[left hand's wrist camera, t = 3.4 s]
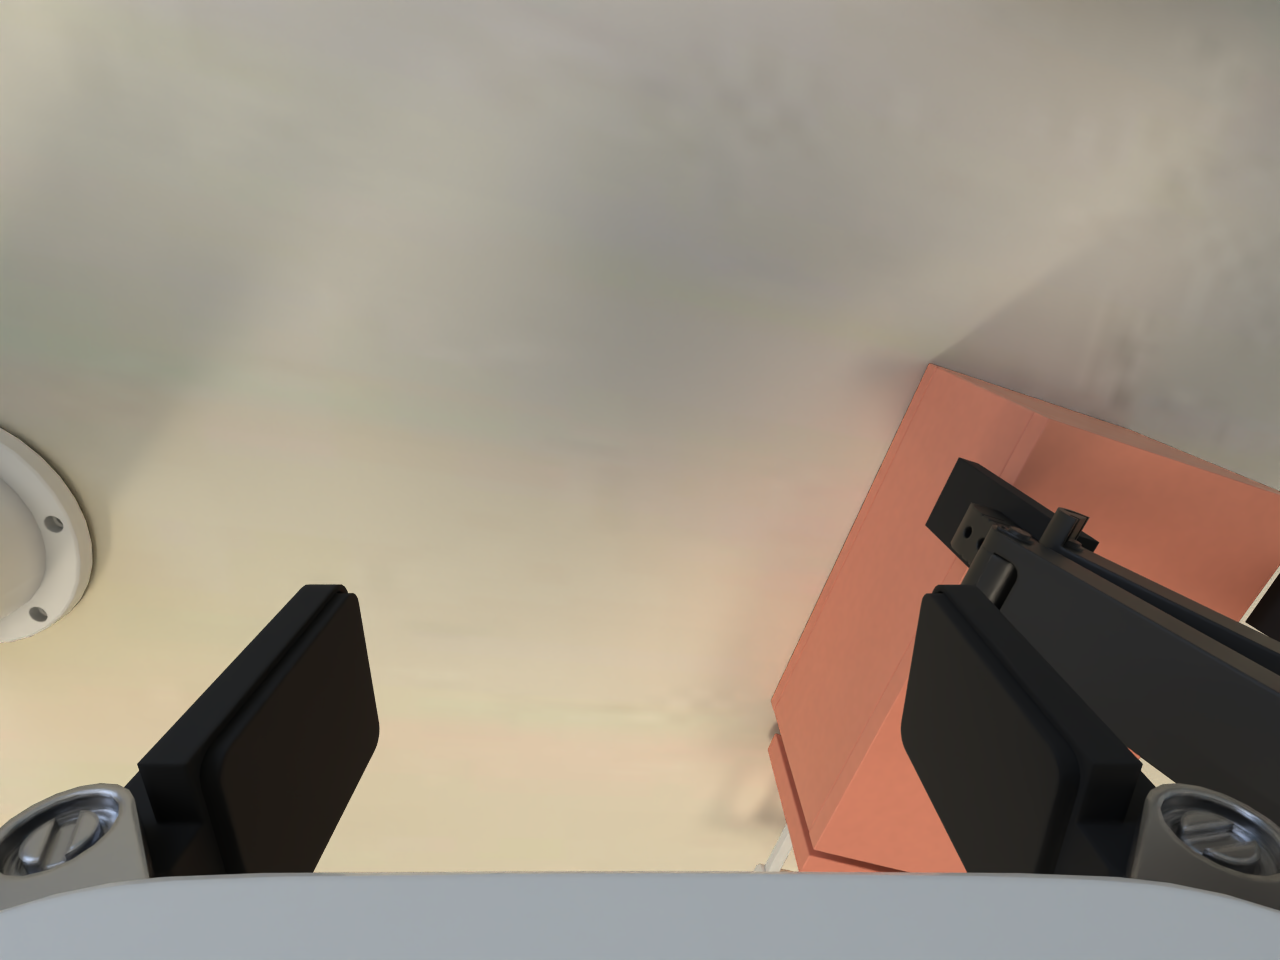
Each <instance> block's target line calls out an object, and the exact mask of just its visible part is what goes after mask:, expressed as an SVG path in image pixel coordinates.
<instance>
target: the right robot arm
mask: <svg viewBox="0 0 1280 960" xmlns="http://www.w3.org/2000/svg"><path fill="white" fill-rule="evenodd" d="M1089 518H1090V517H1088V516H1085V515H1083V514H1080V513H1078V512H1075V511H1072V510H1069V509H1066V508H1062V507H1058V508H1057V510H1056V512H1055V513H1054V512H1052V511H1051V510H1049V509H1048V508H1046V507H1045V506H1043V505H1041V504H1040V503H1038V502H1037V501H1035V500H1034V499H1032V498H1031V497H1029V496H1028V495H1026V494H1025V493H1023V492H1021V491H1020V490H1018V489H1017V488H1015V487H1014V486H1012V485H1011V484H1009V483H1008V482H1006V481H1005V480H1003V479H1002V478H1000V477H998V476H997V475H995V474H994V473H992V472H991V471H989V470H988V469H986V468H985V467H983V466H982V465H980V464H978V463H976V462H973V461H969V460H966V459H963V458H960V457H959V458H958V460H957V462H956V464H955V466H954V468H953V470H952V472H951V474H950V476H949V478H948V480H947V482H946V484H945V486H944V488H943V490H942V492H941V494H940V496H939V498H938V500H937V502H936V504H935V506H934V508H933V510H932V512H931V514H930V516H929V518H928V520H927V522H926V524H925V526H926V527H927V528H928V529H929V530H930V531H931V532H932V533H933V534H934V535H935V536H937V537H938V538H939V539H940V540H941V541H942V542H943V543H944V544H945V545H946V546H947V547H948V548H949V549H950V550H951V551H952V552H953V553H954V554H955V555H956V556H957V557H958V558H959V559H960V560H961V561H962V562H963V563H964V564H965V565H966V566H967V567H968V568H969V569H968V571H967V573H966V575H965V577H964V579H963V580H962V582H961V584H960V585H975V586H977V587H978V588H979V589H980V590H981V591H982V592H983V593H984V594H985V596H986V597H987V598H988V599H989V600H990V601H991V602H992V603H993V604H994V605H995V606H996V607H997V608H998V609H999V611H1000V612H1001V613H1002V614H1003V615H1004V616H1005V617H1006V618H1007V619H1008V620H1009V621H1010V622H1011V623H1012V624H1013V626H1014V627H1015V628H1016V629H1017V630H1018V631H1019V632H1020V633H1021V634H1022V635H1023V636H1024V637H1025V638H1026V639H1027V641H1028V642H1029V643H1030V644H1031V645H1032V646H1033V647H1034V648H1035V649H1036V650H1037V651H1038V652H1039V653H1040V654H1041V656H1042V657H1043V658H1044V659H1045V660H1046V661H1047V662H1048V663H1049V664H1050V665H1051V666H1052V667H1053V668H1054V669H1055V671H1056V672H1057V673H1058V674H1059V675H1060V676H1061V677H1062V678H1063V679H1064V680H1065V681H1066V682H1067V683H1068V684H1069V686H1070V687H1071V688H1072V689H1073V690H1074V691H1075V692H1076V693H1077V694H1078V695H1079V696H1080V697H1081V698H1082V699H1083V700H1084V702H1085V703H1086V704H1087V705H1088V706H1089V707H1090V708H1091V709H1092V710H1093V711H1094V712H1095V713H1096V714H1097V715H1098V717H1099V718H1100V719H1101V720H1102V721H1103V722H1104V723H1105V724H1106V725H1107V726H1108V727H1109V728H1110V729H1111V730H1112V732H1113V733H1114V734H1115V735H1116V736H1117V737H1118V738H1119V739H1120V740H1121V741H1122V742H1123V743H1124V744H1125V745H1126V747H1128V748H1129V749H1130V750H1132V751H1133V752H1134V753H1136V754H1137V755H1139V756H1140V757H1141V758H1143V759H1144V760H1145V761H1147V762H1148V763H1149V764H1151V765H1152V766H1153V767H1155V768H1156V769H1158V770H1159V771H1160V772H1162V773H1163V774H1164V775H1166V776H1167V777H1168V778H1170V779H1171V780H1173V781H1174V782H1175V783H1181V784H1188V785H1195V786H1201V787H1204V788H1207V789H1210V790H1213V791H1216V792H1219V793H1223V794H1225V795H1227V796H1229V797H1231V798H1233V799H1236V800H1238V801H1240V802H1242V803H1244V804H1246V805H1248V806H1250V807H1251V808H1253V809H1254V810H1256V811H1258V812H1259V813H1261V814H1262V815H1264V816H1265V817H1267V818H1269V819H1270V820H1271V821H1272V822H1274V823H1275V824H1276V825H1277V826H1278V827H1279V828H1280V573H1279V575H1278V576H1277V578H1276V579H1275V581H1274V582H1273V583H1272V585H1271V586H1270V588H1269V589H1268V590H1267V592H1266V593H1265V595H1264V596H1263V597H1262V599H1261V600H1260V602H1259V603H1258V605H1257V606H1256V607H1255V609H1254V610H1253V612H1252V613H1251V614H1250V616H1249V617H1248V619H1247V620H1246V623H1248V624H1249V625H1251V626H1252V627H1254V628H1256V629H1257V630H1259V631H1260V632H1262V633H1264V634H1265V635H1264V634H1262V633H1260V632H1258V631H1256V630H1254V629H1251V628H1249V627H1247V626H1245V625H1243V624H1241V623H1239V622H1237V621H1235V620H1233V619H1231V618H1229V617H1226V616H1224V615H1222V614H1220V613H1218V612H1216V611H1214V610H1212V609H1210V608H1208V607H1206V606H1204V605H1202V604H1199V603H1197V602H1195V601H1193V600H1191V599H1189V598H1187V597H1185V596H1183V595H1181V594H1179V593H1177V592H1175V591H1172V590H1170V589H1168V588H1166V587H1164V586H1162V585H1160V584H1158V583H1156V582H1154V581H1152V580H1150V579H1148V578H1145V577H1143V576H1141V575H1139V574H1137V573H1135V572H1133V571H1131V570H1129V569H1127V568H1125V567H1123V566H1120V565H1118V564H1116V563H1114V562H1112V561H1110V560H1108V559H1106V558H1104V557H1102V556H1100V555H1098V554H1096V553H1093V552H1094V551H1095V549H1096V547H1097V546H1098V544H1099V542H1098V541H1097V540H1095V539H1094V538H1092V537H1091V536H1089V535H1088V534H1086V533H1084V532H1083V531H1082V530H1083V528H1084V526H1085V525H1086V523H1087V521H1088V520H1089ZM1266 635H1267V636H1266Z"/></svg>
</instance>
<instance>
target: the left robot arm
mask: <svg viewBox="0 0 1280 960" xmlns="http://www.w3.org/2000/svg"><path fill="white" fill-rule="evenodd" d="M92 564H93V561H92V542H91V538H90V534H89V531H88V527H87V523H86V520H85V518H84V516H83V514H82V511H81V509H80V507H79V505H78V503H77V501H76V499H75V497H74V496H73V494H72V493H71V492H70V490H69V489H68V487H67V486H66V484H65V483H64V481H63V480H62V479H61V477H60V476H59V475H58V474H57V473H56V472H55V471H54V470H53V469H52V468H51V467H50V465H49V464H48V463H47V462H46V461H45V460H44V459H43V458H42V457H41V456H40V455H38V454H37V453H36V452H35V451H33V450H32V449H31V448H30V447H28V446H27V445H26V444H25V443H23V442H22V441H21V440H20V439H18V438H17V437H15V436H13V435H12V434H10V433H8V432H6V431H5V430H3V429H1V428H0V643H7V642H14V641H17V640H21V639H24V638H28V637H31V636H33V635H35V634H37V633H39V632H41V631H43V630H45V629H47V628H48V627H50V626H51V625H53V624H54V623H55V622H57V621H58V620H60V619H61V618H62V617H64V616H65V615H67V614H68V613H69V612H70V611H71V610H72V609H73V607H74V606H75V605H76V604H77V603H78V602H79V601H80V599H81V598H82V596H83V593H84V591H85V589H86V587H87V585H88V583H89V579H90V574H91V569H92ZM378 738H379V720H378V714H377V708H376V702H375V696H374V690H373V684H372V678H371V673H370V667H369V661H368V655H367V649H366V643H365V637H364V631H363V625H362V619H361V613H360V607H359V602H358V598H357V596H356V595H355V594H354V593H348V591H347V590H346V588H345V586H343V585H305V586H303V587H302V588H301V589H300V590H299V591H298V592H297V593H296V594H295V596H294V597H293V598H292V599H291V600H290V601H289V602H288V603H287V604H286V605H285V606H284V607H283V608H282V609H281V611H280V612H279V613H278V614H277V615H276V616H275V617H274V618H273V619H272V620H271V621H270V622H269V623H268V624H267V626H266V627H265V628H264V629H263V630H262V631H261V632H260V633H259V634H258V635H257V636H256V637H255V638H254V639H253V641H252V642H251V643H250V644H249V645H248V646H247V647H246V648H245V649H244V650H243V651H242V652H241V653H240V654H239V656H238V657H237V658H236V659H235V660H234V661H233V662H232V663H231V664H230V665H229V666H228V667H227V668H226V669H225V671H224V672H223V673H222V674H221V675H220V676H219V677H218V678H217V679H216V680H215V681H214V682H213V683H212V684H211V686H210V687H209V688H208V689H207V690H206V691H205V692H204V693H203V694H202V695H201V696H200V697H199V698H198V699H197V700H196V702H195V703H194V704H193V705H192V706H191V707H190V708H189V709H188V710H187V711H186V712H185V713H184V714H183V715H182V717H181V718H180V719H179V720H178V721H177V722H176V723H175V724H174V725H173V726H172V727H171V728H170V729H169V730H168V732H167V733H166V734H165V735H164V736H163V737H162V738H161V739H160V740H159V741H158V742H157V743H156V744H155V745H154V747H153V748H152V749H151V750H150V751H149V752H148V753H147V754H146V755H145V756H144V757H143V758H142V759H141V760H140V762H139V763H138V764H137V765H138V768H139V772H138V773H137V774H136V775H135V776H134V777H133V778H132V779H131V780H130V781H129V783H128V784H127V785H126V786H125V787H122V786H120V785H118V784H105V783H99V784H92V785H85V786H79V787H76V788H73V789H70V790H67V791H64V792H61V793H57V794H55V795H53V796H51V797H49V798H46V799H44V800H42V801H40V802H38V803H36V804H34V805H32V806H30V807H29V808H27V809H26V810H24V811H22V812H21V813H19V814H18V815H16V816H15V817H13V818H11V819H10V820H9V821H8V822H6V823H5V824H4V825H3V826H2V827H1V828H0V960H1280V828H1279V827H1278V826H1277V825H1276V824H1275V823H1274V822H1272V821H1271V820H1270V819H1269V818H1267V817H1265V816H1264V815H1262V814H1261V813H1259V812H1258V811H1256V810H1254V809H1253V808H1251V807H1250V806H1248V805H1246V804H1244V803H1242V802H1240V801H1238V800H1236V799H1233V798H1231V797H1229V796H1227V795H1225V794H1223V793H1219V792H1216V791H1213V790H1210V789H1207V788H1204V787H1201V786H1195V785H1188V784H1181V783H1175V784H1162V785H1160V786H1158V787H1155V786H1154V785H1153V784H1152V783H1151V781H1150V780H1149V779H1148V778H1147V777H1146V776H1145V775H1144V774H1143V773H1142V772H1141V768H1142V765H1143V764H1142V763H1141V762H1140V760H1139V759H1138V758H1137V757H1136V756H1135V755H1134V754H1133V753H1132V752H1131V751H1130V750H1129V749H1128V748H1127V747H1126V745H1125V744H1124V743H1123V742H1122V741H1121V740H1120V739H1119V738H1118V737H1117V736H1116V735H1115V734H1114V733H1113V732H1112V730H1111V729H1110V728H1109V727H1108V726H1107V725H1106V724H1105V723H1104V722H1103V721H1102V720H1101V719H1100V718H1099V717H1098V715H1097V714H1096V713H1095V712H1094V711H1093V710H1092V709H1091V708H1090V707H1089V706H1088V705H1087V704H1086V703H1085V702H1084V700H1083V699H1082V698H1081V697H1080V696H1079V695H1078V694H1077V693H1076V692H1075V691H1074V690H1073V689H1072V688H1071V687H1070V686H1069V684H1068V683H1067V682H1066V681H1065V680H1064V679H1063V678H1062V677H1061V676H1060V675H1059V674H1058V673H1057V672H1056V671H1055V669H1054V668H1053V667H1052V666H1051V665H1050V664H1049V663H1048V662H1047V661H1046V660H1045V659H1044V658H1043V657H1042V656H1041V654H1040V653H1039V652H1038V651H1037V650H1036V649H1035V648H1034V647H1033V646H1032V645H1031V644H1030V643H1029V642H1028V641H1027V639H1026V638H1025V637H1024V636H1023V635H1022V634H1021V633H1020V632H1019V631H1018V630H1017V629H1016V628H1015V627H1014V626H1013V624H1012V623H1011V622H1010V621H1009V620H1008V619H1007V618H1006V617H1005V616H1004V615H1003V614H1002V613H1001V612H1000V611H999V609H998V608H997V607H996V606H995V605H994V604H993V603H992V602H991V601H990V600H989V599H988V598H987V597H986V596H985V594H984V593H983V592H982V591H981V590H980V589H979V588H978V587H977V586H975V585H937V586H935V588H934V590H933V591H932V593H926V594H925V595H924V596H923V598H922V602H921V607H920V613H919V619H918V625H917V631H916V637H915V643H914V649H913V655H912V661H911V667H910V673H909V678H908V684H907V690H906V696H905V702H904V708H903V714H902V720H901V738H902V743H903V746H904V749H905V751H906V753H907V755H908V757H909V759H910V761H911V763H912V765H913V767H914V769H915V771H916V773H917V775H918V776H919V778H920V780H921V782H922V784H923V786H924V788H925V790H926V792H927V794H928V796H929V798H930V800H931V802H932V804H933V806H934V808H935V810H936V812H937V814H938V816H939V818H940V820H941V822H942V824H943V826H944V828H945V830H946V832H947V834H948V836H949V838H950V840H951V842H952V844H953V846H954V848H955V850H956V852H957V854H958V856H959V858H960V860H961V862H962V864H963V866H964V868H965V869H966V871H967V873H933V872H768V871H512V872H347V873H313V871H314V869H315V868H316V866H317V864H318V862H319V860H320V858H321V856H322V854H323V852H324V850H325V848H326V846H327V844H328V842H329V840H330V838H331V836H332V834H333V832H334V830H335V828H336V826H337V824H338V822H339V820H340V818H341V816H342V814H343V812H344V810H345V808H346V806H347V804H348V802H349V800H350V798H351V796H352V794H353V792H354V790H355V788H356V786H357V784H358V782H359V780H360V778H361V776H362V775H363V773H364V771H365V769H366V767H367V765H368V763H369V761H370V759H371V757H372V755H373V753H374V751H375V749H376V746H377V743H378Z"/></svg>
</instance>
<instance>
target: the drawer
mask: <svg viewBox="0 0 1280 960" xmlns="http://www.w3.org/2000/svg"><path fill="white" fill-rule="evenodd" d="M768 752H769V756H770V760H771V764H772V768H773V772H774V776H775V780H776V783H777V787H778V791H779V795H780V799H781V803H782V807H783V811H784V815H785V819H786V825H785V827H784V829H783V831H782V833H781V835H780V837H779V839H778V841H777V843H776V844H775V846H774V848H773V850H772V852H771V854H770V856H769V858H768V860H767V862H766V864H765V865H763V864H757V865H756V867H755V869H754V871H768V872H793V871H789V870H785V869H781V868H782V866H783V864H784V862H785V860H786V858H787V857H788V855H789V853H790V851H791V849H792V847H793V850H794V854H795V858H796V862H797V866H798V869H799V872H906V871H901V870H897V869H893V868H889V867H885V866H880V865H876V864H872V863H868V862H864V861H859V860H855V859H851V858H847V857H842V856H838V855H834V854H830V853H826V852H821V851H817V850H814V849H813V845H812V842H811V839H810V835H809V830H808V826H807V823H806V820H805V816H804V813H803V809H802V806H801V802H800V799H799V795H798V792H797V788H796V785H795V782H794V778H793V775H792V771H791V768H790V764H789V761H788V757H787V754H786V750H785V747H784V744H783V740H782V737H781V735H780V734H775V735H774V737H773V739H772V741H771V743H770V745H769V748H768Z"/></svg>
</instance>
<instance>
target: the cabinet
mask: <svg viewBox="0 0 1280 960" xmlns="http://www.w3.org/2000/svg"><path fill="white" fill-rule="evenodd" d="M959 457H960V458H963V459H966V460H969V461H973V462H976V463H978V464H980V465H982V466H983V467H985V468H986V469H988V470H989V471H991V472H992V473H994V474H995V475H997V476H998V477H1000V478H1002V479H1003V480H1005V481H1006V482H1008V483H1009V484H1011V485H1012V486H1014V487H1015V488H1017V489H1018V490H1020V491H1021V492H1023V493H1025V494H1026V495H1028V496H1029V497H1031V498H1032V499H1034V500H1035V501H1037V502H1038V503H1040V504H1041V505H1043V506H1045V507H1046V508H1048V509H1049V510H1051V511H1052V512H1054V513H1055V512H1056V510H1057V508H1058V507H1062V508H1066V509H1069V510H1072V511H1075V512H1078V513H1080V514H1083V515H1085V516H1088V517H1090V518H1089V520H1088V521H1087V523H1086V525H1085V526H1084V528H1083V530H1082V531H1083V532H1084V533H1086V534H1088V535H1089V536H1091V537H1092V538H1094V539H1095V540H1097V541H1098V542H1099V544H1098V546H1097V547H1096V549H1095V551H1094V552H1093V553H1096V554H1098V555H1100V556H1102V557H1104V558H1106V559H1108V560H1110V561H1112V562H1114V563H1116V564H1118V565H1120V566H1123V567H1125V568H1127V569H1129V570H1131V571H1133V572H1135V573H1137V574H1139V575H1141V576H1143V577H1145V578H1148V579H1150V580H1152V581H1154V582H1156V583H1158V584H1160V585H1162V586H1164V587H1166V588H1168V589H1170V590H1172V591H1175V592H1177V593H1179V594H1181V595H1183V596H1185V597H1187V598H1189V599H1191V600H1193V601H1195V602H1197V603H1199V604H1202V605H1204V606H1206V607H1208V608H1210V609H1212V610H1214V611H1216V612H1218V613H1220V614H1222V615H1224V616H1226V617H1229V618H1231V619H1233V620H1235V621H1237V622H1239V621H1240V619H1241V618H1242V617H1243V615H1244V614H1245V612H1246V611H1247V610H1248V608H1249V607H1250V606H1251V604H1252V603H1253V601H1254V600H1255V599H1256V597H1257V596H1258V595H1259V593H1260V592H1261V590H1262V589H1263V588H1264V586H1265V585H1266V584H1267V582H1268V581H1269V579H1270V578H1271V577H1272V575H1273V574H1274V573H1275V571H1276V570H1277V568H1278V567H1279V566H1280V491H1278V490H1275V489H1273V488H1270V487H1268V486H1266V485H1263V484H1261V483H1258V482H1256V481H1253V480H1251V479H1249V478H1246V477H1244V476H1241V475H1239V474H1236V473H1234V472H1232V471H1229V470H1227V469H1224V468H1222V467H1219V466H1217V465H1214V464H1212V463H1210V462H1207V461H1205V460H1202V459H1200V458H1197V457H1195V456H1193V455H1190V454H1188V453H1185V452H1183V451H1180V450H1178V449H1176V448H1173V447H1171V446H1168V445H1166V444H1163V443H1161V442H1158V441H1156V440H1154V439H1151V438H1149V437H1146V436H1144V435H1141V434H1139V433H1137V432H1134V431H1132V430H1129V429H1126V428H1123V427H1120V426H1117V425H1114V424H1111V423H1108V422H1105V421H1102V420H1099V419H1096V418H1093V417H1090V416H1087V415H1084V414H1081V413H1078V412H1075V411H1072V410H1069V409H1066V408H1063V407H1060V406H1057V405H1054V404H1051V403H1048V402H1045V401H1042V400H1039V399H1036V398H1033V397H1030V396H1027V395H1024V394H1021V393H1018V392H1015V391H1012V390H1009V389H1006V388H1003V387H1000V386H997V385H994V384H991V383H988V382H985V381H982V380H979V379H976V378H973V377H970V376H967V375H964V374H961V373H958V372H955V371H952V370H949V369H946V368H943V367H940V366H937V365H934V364H931V363H929V365H928V367H927V369H926V371H925V373H924V375H923V377H922V380H921V382H920V384H919V386H918V388H917V390H916V392H915V394H914V397H913V399H912V401H911V403H910V405H909V407H908V409H907V412H906V414H905V416H904V418H903V420H902V422H901V424H900V426H899V429H898V431H897V433H896V435H895V437H894V439H893V441H892V444H891V446H890V448H889V450H888V452H887V454H886V456H885V458H884V461H883V463H882V465H881V467H880V469H879V471H878V473H877V476H876V478H875V480H874V482H873V484H872V486H871V488H870V490H869V493H868V495H867V497H866V499H865V501H864V503H863V505H862V508H861V510H860V512H859V514H858V516H857V518H856V520H855V522H854V525H853V527H852V529H851V531H850V533H849V535H848V537H847V540H846V542H845V544H844V546H843V548H842V550H841V552H840V554H839V557H838V559H837V561H836V563H835V565H834V567H833V569H832V572H831V574H830V576H829V578H828V580H827V582H826V584H825V586H824V589H823V591H822V593H821V595H820V597H819V599H818V601H817V604H816V606H815V608H814V610H813V612H812V614H811V616H810V618H809V621H808V623H807V625H806V627H805V629H804V631H803V633H802V635H801V638H800V640H799V642H798V644H797V646H796V648H795V650H794V653H793V655H792V657H791V659H790V661H789V663H788V665H787V667H786V670H785V672H784V674H783V676H782V678H781V680H780V682H779V685H778V687H777V689H776V691H775V693H774V695H773V697H772V699H771V703H772V706H773V710H774V712H775V716H776V719H777V723H778V726H779V730H780V733H781V737H782V740H783V744H784V747H785V750H786V754H787V757H788V761H789V764H790V768H791V771H792V775H793V778H794V782H795V785H796V788H797V792H798V795H799V799H800V802H801V806H802V809H803V813H804V816H805V820H806V823H807V826H808V830H809V835H810V839H811V842H812V845H813V849H814V850H817V851H821V852H826V853H830V854H834V855H838V856H842V857H847V858H851V859H855V860H859V861H864V862H868V863H872V864H876V865H880V866H885V867H889V868H893V869H897V870H901V871H906V872H933V873H967V871H966V869H965V868H964V866H963V864H962V862H961V860H960V858H959V856H958V854H957V852H956V850H955V848H954V846H953V844H952V842H951V840H950V838H949V836H948V834H947V832H946V830H945V828H944V826H943V824H942V822H941V820H940V818H939V816H938V814H937V812H936V810H935V808H934V806H933V804H932V802H931V800H930V798H929V796H928V794H927V792H926V790H925V788H924V786H923V784H922V782H921V780H920V778H919V776H918V775H917V773H916V771H915V769H914V767H913V765H912V763H911V761H910V759H909V757H908V755H907V753H906V751H905V749H904V746H903V743H902V738H901V720H902V714H903V708H904V702H905V696H906V690H907V684H908V678H909V673H910V667H911V661H912V655H913V649H914V643H915V637H916V631H917V625H918V619H919V613H920V607H921V602H922V598H923V596H924V595H925V594H926V593H932V591H933V590H934V588H935V586H937V585H960V584H961V582H962V580H963V579H964V577H965V575H966V573H967V571H968V569H969V568H968V567H967V566H966V565H965V564H964V563H963V562H962V561H961V560H960V559H959V558H958V557H957V556H956V555H955V554H954V553H953V552H952V551H951V550H950V549H949V548H948V547H947V546H946V545H945V544H944V543H943V542H942V541H941V540H940V539H939V538H938V537H937V536H935V535H934V534H933V533H932V532H931V531H930V530H929V529H928V528H927V527H926V526H925V524H926V522H927V520H928V518H929V516H930V514H931V512H932V510H933V508H934V506H935V504H936V502H937V500H938V498H939V496H940V494H941V492H942V490H943V488H944V486H945V484H946V482H947V480H948V478H949V476H950V474H951V472H952V470H953V468H954V466H955V464H956V462H957V460H958V458H959ZM1127 748H1128V747H1127ZM1128 749H1129V748H1128ZM1129 750H1130V749H1129ZM1130 751H1131V752H1132V753H1133V754H1134V755H1135V756H1136V757H1137V758H1138V759H1140V756H1139V755H1137V754H1136V753H1134V752H1133V751H1132V750H1130Z"/></svg>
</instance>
